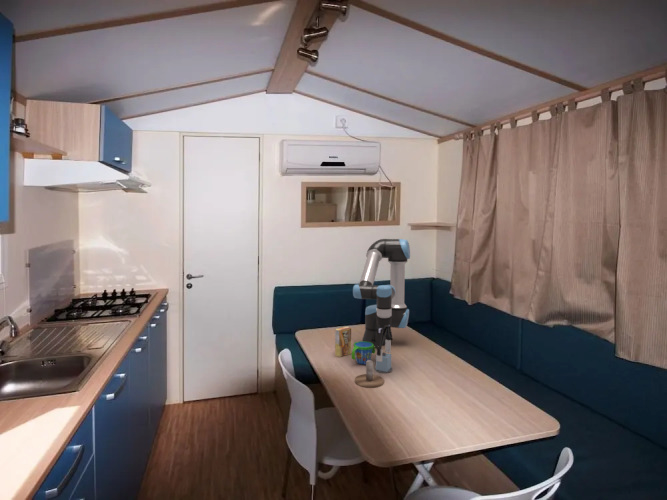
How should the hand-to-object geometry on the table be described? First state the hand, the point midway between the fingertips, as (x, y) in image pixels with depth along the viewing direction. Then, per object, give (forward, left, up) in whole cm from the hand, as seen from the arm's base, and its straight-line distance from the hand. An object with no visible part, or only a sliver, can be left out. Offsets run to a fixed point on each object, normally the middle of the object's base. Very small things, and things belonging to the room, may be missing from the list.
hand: (383, 356), depth 204 cm
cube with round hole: (0, 0, -6) cm, 6 cm away
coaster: (0, 0, -7) cm, 7 cm away
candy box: (-30, -4, -7) cm, 31 cm away
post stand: (+7, -15, -7) cm, 18 cm away
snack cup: (-14, -2, -7) cm, 16 cm away
